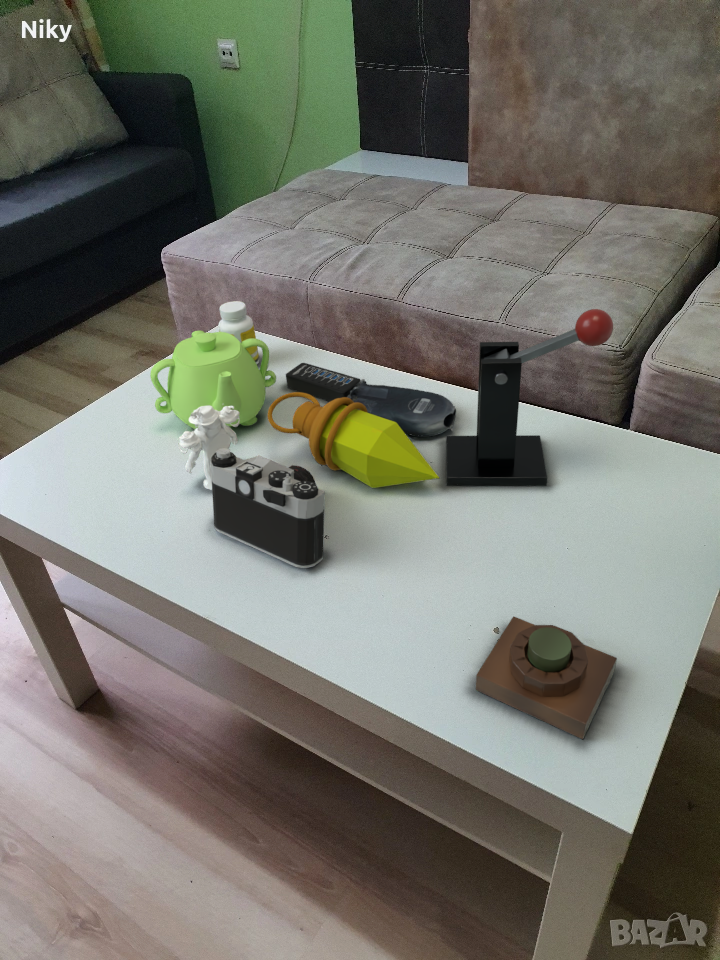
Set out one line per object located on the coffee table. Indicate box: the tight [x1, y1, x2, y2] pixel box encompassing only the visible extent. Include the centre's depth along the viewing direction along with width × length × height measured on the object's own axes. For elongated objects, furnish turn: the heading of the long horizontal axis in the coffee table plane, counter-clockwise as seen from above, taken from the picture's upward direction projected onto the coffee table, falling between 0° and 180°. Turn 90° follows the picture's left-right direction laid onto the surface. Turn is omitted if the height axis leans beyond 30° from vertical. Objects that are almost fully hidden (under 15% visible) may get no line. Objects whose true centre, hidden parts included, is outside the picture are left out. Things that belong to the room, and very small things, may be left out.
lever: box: [484, 308, 614, 364], centre depth 84 cm, size 14×4×4 cm, turn 85°
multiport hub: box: [285, 362, 361, 402], centre depth 111 cm, size 4×11×2 cm, turn 55°
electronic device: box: [347, 378, 457, 438], centre depth 104 cm, size 9×6×15 cm
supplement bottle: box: [217, 300, 260, 365], centre depth 117 cm, size 5×5×10 cm
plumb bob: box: [267, 391, 440, 489], centre depth 94 cm, size 9×9×25 cm
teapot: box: [149, 330, 277, 430], centre depth 104 cm, size 16×14×13 cm
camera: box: [210, 448, 326, 569], centre depth 85 cm, size 15×11×10 cm
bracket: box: [445, 341, 548, 487], centre depth 90 cm, size 12×9×16 cm
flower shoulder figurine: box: [177, 403, 240, 491], centre depth 92 cm, size 9×4×12 cm, turn 142°
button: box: [528, 627, 571, 672], centre depth 66 cm, size 4×4×2 cm
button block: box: [475, 616, 618, 740], centre depth 67 cm, size 10×8×4 cm
